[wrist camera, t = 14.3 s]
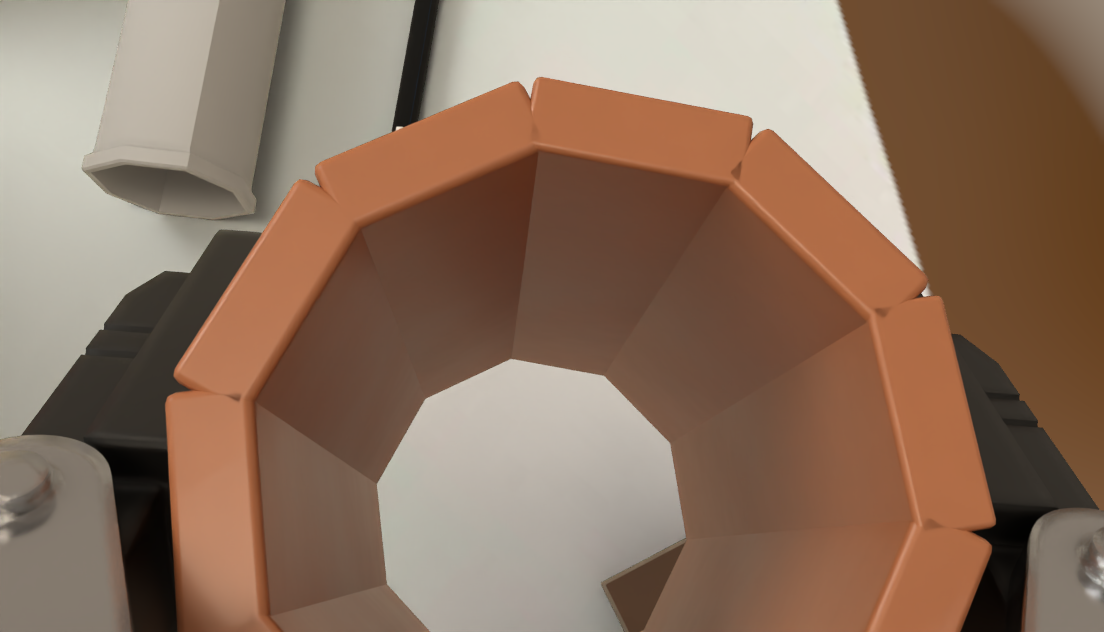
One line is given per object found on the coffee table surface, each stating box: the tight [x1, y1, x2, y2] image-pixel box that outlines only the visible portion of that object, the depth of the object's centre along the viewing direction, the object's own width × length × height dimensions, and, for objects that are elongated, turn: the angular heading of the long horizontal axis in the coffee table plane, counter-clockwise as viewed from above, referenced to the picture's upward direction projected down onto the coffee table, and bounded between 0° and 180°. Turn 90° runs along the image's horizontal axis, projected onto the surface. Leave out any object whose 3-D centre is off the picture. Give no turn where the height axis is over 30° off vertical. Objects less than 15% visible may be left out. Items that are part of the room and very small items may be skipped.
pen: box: [392, 0, 439, 132], centre depth 37 cm, size 1×19×1 cm, turn 172°
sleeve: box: [165, 77, 996, 632], centre depth 11 cm, size 6×6×8 cm
